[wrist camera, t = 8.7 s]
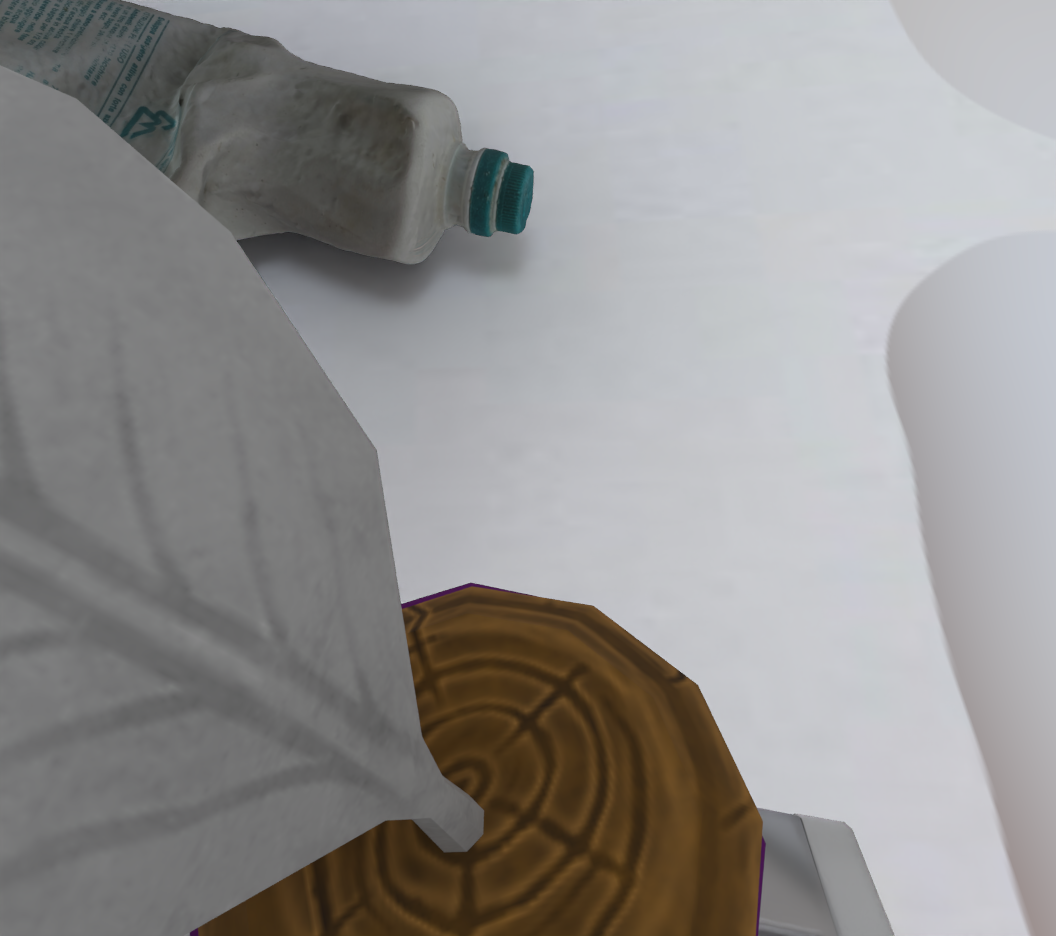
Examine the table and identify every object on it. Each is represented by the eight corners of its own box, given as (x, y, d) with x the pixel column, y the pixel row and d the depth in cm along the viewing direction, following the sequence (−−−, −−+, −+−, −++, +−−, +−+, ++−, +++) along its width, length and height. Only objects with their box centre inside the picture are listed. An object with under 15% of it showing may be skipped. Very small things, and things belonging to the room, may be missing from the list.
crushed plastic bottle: (-158, 244, 35) (473, 408, 33) (-287, 81, 29) (479, 273, 27) (25, 42, 41) (556, 170, 40) (-48, -126, 35) (577, 19, 34)
